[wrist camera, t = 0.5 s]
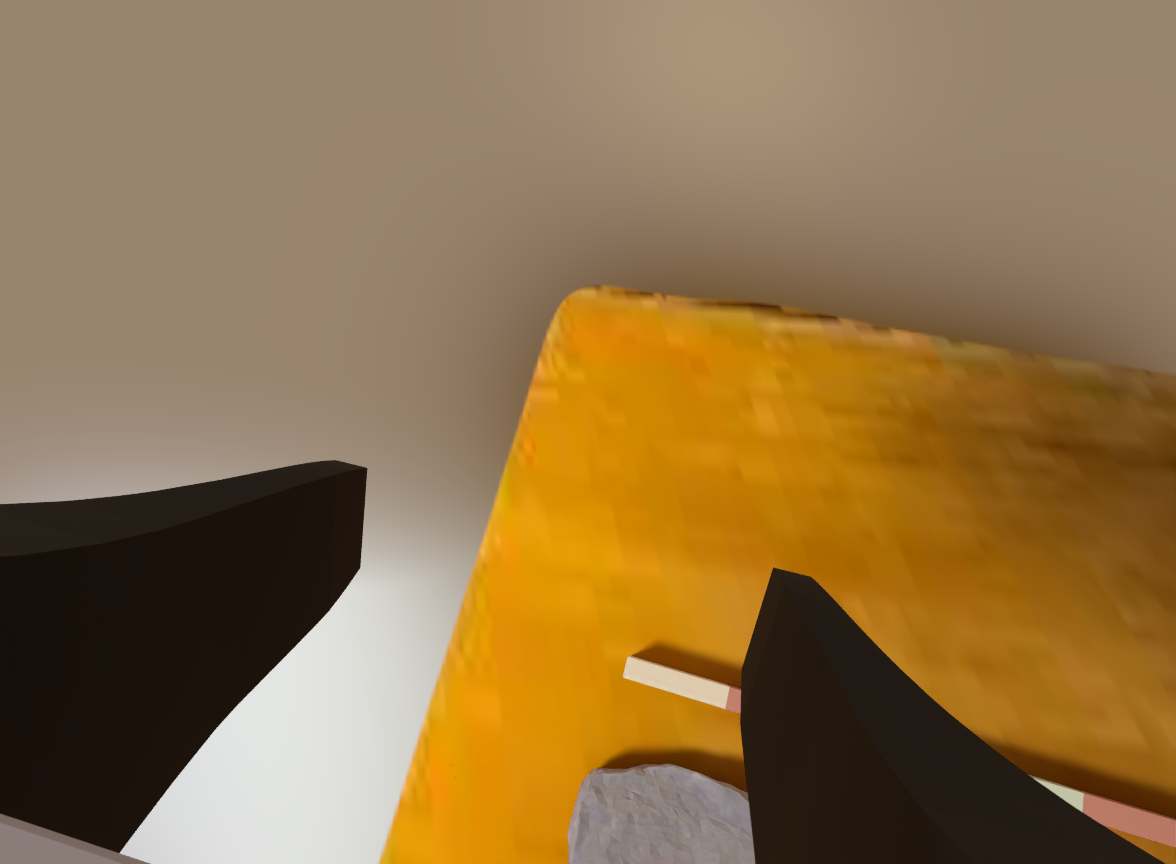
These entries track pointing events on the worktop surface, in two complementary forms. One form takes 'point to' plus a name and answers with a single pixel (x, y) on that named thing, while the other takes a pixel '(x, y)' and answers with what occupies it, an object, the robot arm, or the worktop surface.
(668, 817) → the stone block
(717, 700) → the trap lane
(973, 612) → the worktop surface
